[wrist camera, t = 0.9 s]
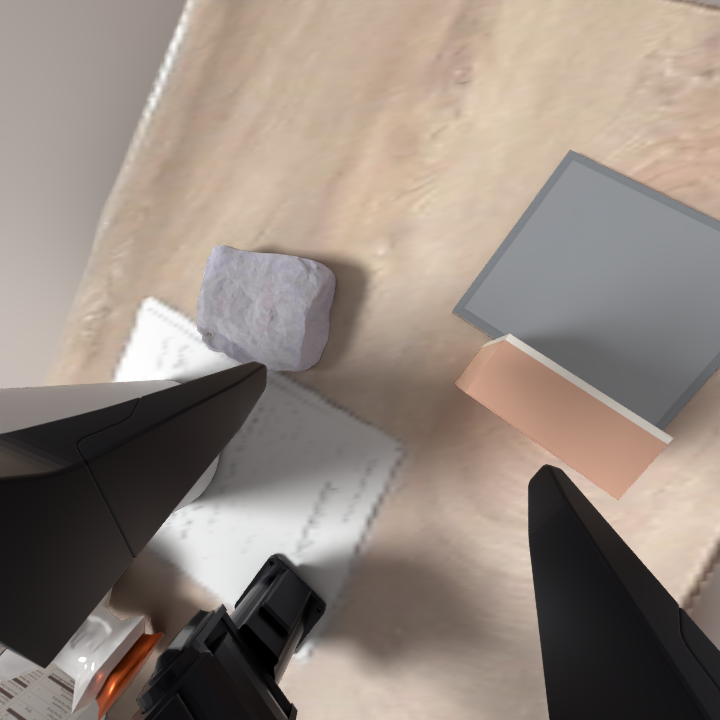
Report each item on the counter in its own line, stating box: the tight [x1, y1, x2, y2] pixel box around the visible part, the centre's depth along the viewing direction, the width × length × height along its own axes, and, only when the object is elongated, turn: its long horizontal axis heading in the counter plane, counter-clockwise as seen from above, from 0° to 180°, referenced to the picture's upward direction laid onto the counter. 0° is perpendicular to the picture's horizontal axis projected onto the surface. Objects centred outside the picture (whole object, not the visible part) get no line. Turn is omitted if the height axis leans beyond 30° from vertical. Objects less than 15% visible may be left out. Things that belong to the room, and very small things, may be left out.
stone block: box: [197, 245, 336, 372], centre depth 27 cm, size 12×5×10 cm
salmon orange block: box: [455, 334, 673, 500], centre depth 19 cm, size 4×9×8 cm, turn 54°
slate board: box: [452, 150, 720, 431], centre depth 21 cm, size 14×16×1 cm
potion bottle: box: [0, 588, 165, 720], centre depth 27 cm, size 9×10×15 cm
